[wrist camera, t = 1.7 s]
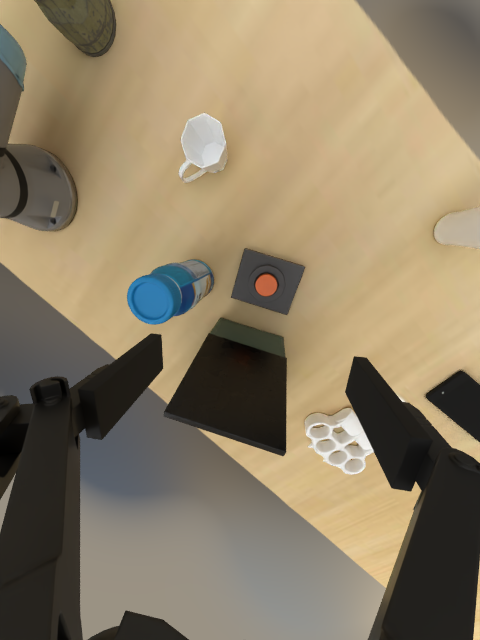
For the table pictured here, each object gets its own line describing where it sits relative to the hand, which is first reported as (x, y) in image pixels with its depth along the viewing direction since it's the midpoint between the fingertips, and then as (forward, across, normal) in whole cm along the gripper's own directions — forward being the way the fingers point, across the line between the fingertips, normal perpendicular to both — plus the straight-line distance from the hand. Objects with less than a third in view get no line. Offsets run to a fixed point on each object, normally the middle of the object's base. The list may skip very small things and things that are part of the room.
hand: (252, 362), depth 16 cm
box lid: (+15, -3, -12) cm, 20 cm away
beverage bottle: (+34, -15, -1) cm, 37 cm away
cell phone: (+34, +47, -23) cm, 62 cm away
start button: (+30, 0, 0) cm, 30 cm away
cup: (+34, -12, +20) cm, 42 cm away
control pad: (+34, 0, 0) cm, 34 cm away
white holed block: (+34, +21, -36) cm, 54 cm away
